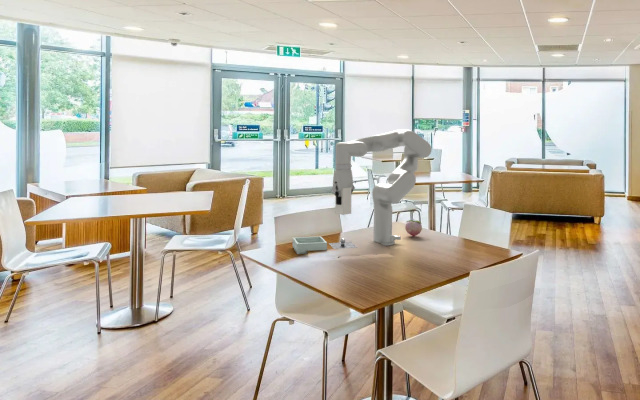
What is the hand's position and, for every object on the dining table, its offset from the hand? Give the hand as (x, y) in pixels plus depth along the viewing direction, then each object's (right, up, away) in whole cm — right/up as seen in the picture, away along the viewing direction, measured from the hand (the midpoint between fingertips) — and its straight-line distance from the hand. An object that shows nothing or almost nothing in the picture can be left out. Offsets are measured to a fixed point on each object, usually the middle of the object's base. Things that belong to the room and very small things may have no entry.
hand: (343, 203), depth 249 cm
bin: (-17, -23, 0) cm, 28 cm away
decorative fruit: (+41, -19, +32) cm, 55 cm away
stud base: (0, -22, +3) cm, 23 cm away
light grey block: (0, -5, +1) cm, 5 cm away
